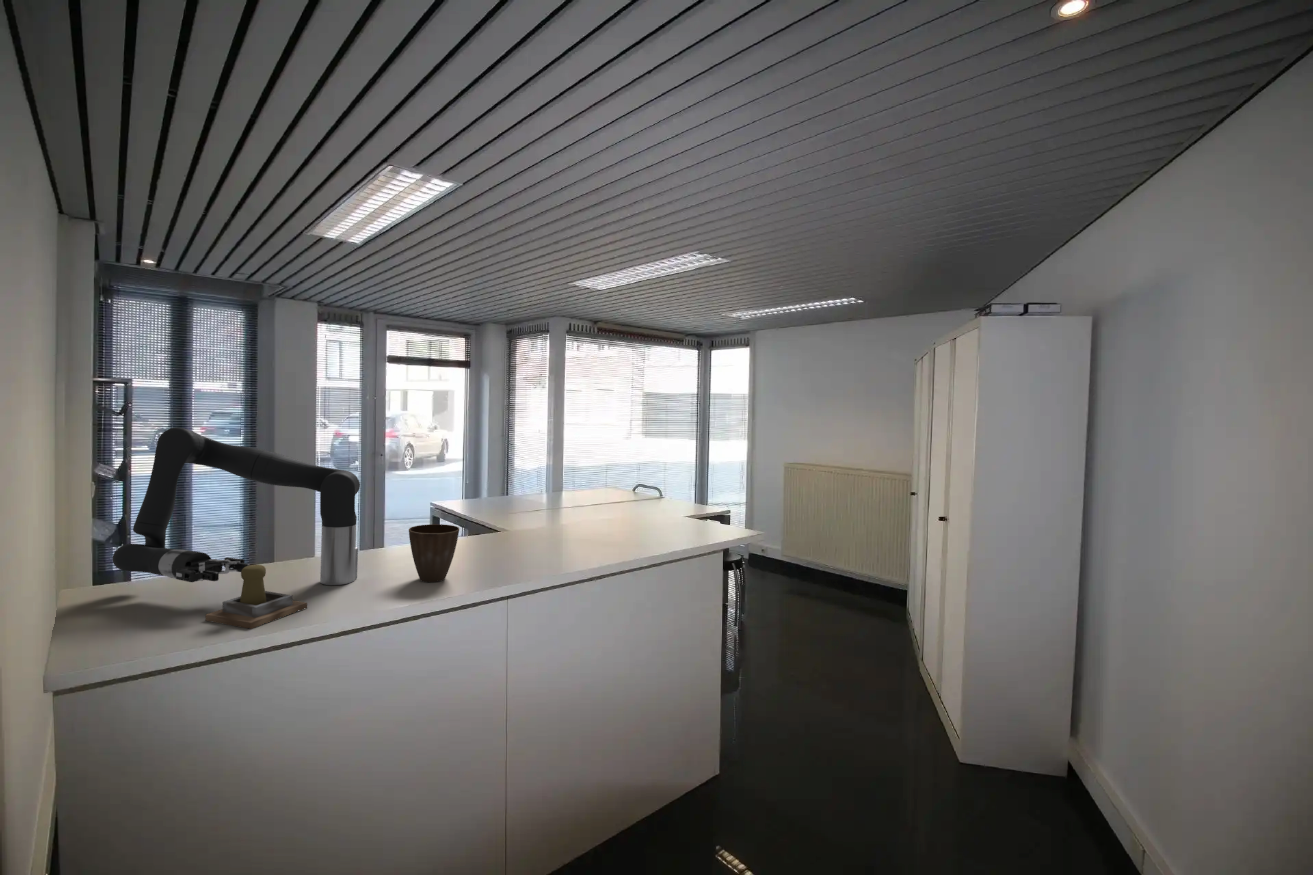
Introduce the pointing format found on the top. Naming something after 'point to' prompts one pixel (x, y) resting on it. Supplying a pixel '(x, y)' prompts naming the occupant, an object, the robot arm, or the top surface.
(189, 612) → the top surface
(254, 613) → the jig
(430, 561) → the plant pot
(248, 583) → the cork
